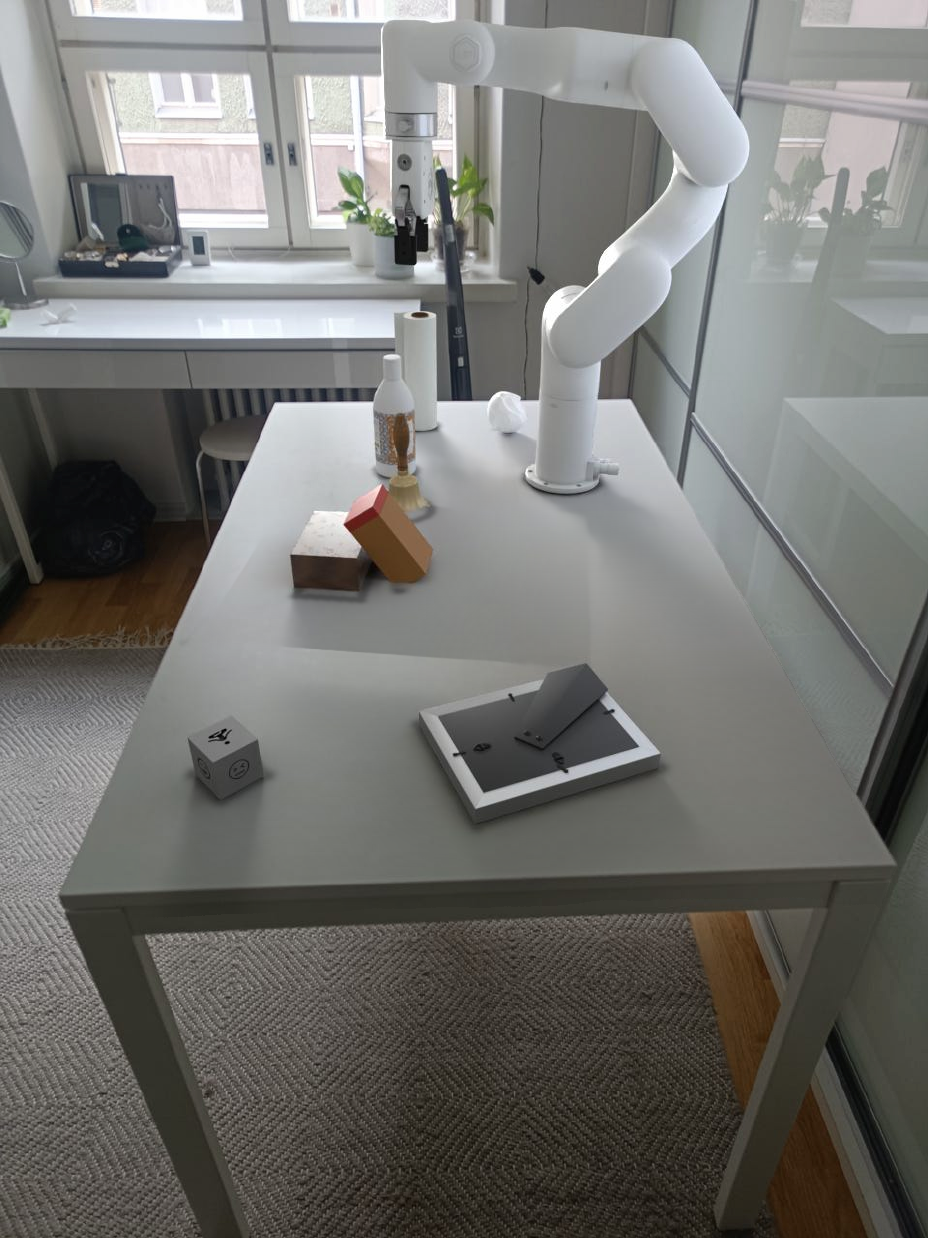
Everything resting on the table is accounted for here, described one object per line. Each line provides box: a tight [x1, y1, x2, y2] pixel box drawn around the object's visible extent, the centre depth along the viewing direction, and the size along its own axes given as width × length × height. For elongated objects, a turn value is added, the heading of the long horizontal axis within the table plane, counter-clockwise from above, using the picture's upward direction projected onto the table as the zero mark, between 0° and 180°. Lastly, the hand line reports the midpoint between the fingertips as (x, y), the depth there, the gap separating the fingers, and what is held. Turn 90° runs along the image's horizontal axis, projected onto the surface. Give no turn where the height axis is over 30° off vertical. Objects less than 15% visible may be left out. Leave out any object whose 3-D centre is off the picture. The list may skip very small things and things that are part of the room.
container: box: [343, 483, 434, 584], centre depth 119 cm, size 11×7×13 cm, turn 84°
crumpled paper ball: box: [486, 390, 528, 434], centre depth 167 cm, size 8×8×8 cm
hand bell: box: [388, 413, 431, 513], centre depth 136 cm, size 8×8×16 cm
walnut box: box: [289, 510, 373, 593], centre depth 122 cm, size 9×13×6 cm
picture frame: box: [418, 662, 662, 825], centre depth 93 cm, size 16×3×21 cm
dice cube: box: [187, 714, 265, 801], centre depth 88 cm, size 5×5×5 cm
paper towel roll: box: [393, 310, 438, 432], centre depth 165 cm, size 7×6×21 cm
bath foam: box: [372, 354, 417, 479], centre depth 147 cm, size 7×7×20 cm
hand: (412, 257), depth 131 cm, fingers open, 9 cm apart
